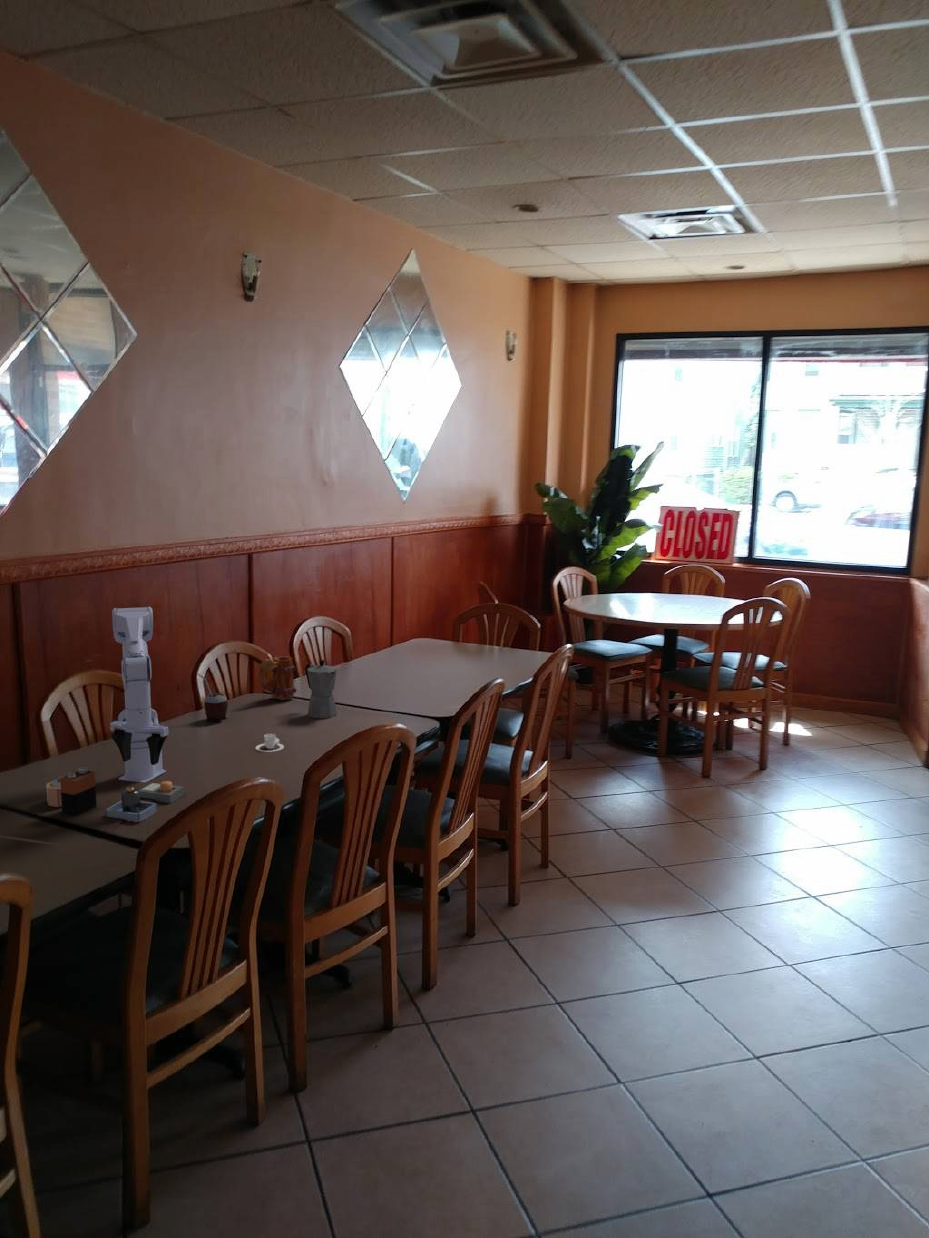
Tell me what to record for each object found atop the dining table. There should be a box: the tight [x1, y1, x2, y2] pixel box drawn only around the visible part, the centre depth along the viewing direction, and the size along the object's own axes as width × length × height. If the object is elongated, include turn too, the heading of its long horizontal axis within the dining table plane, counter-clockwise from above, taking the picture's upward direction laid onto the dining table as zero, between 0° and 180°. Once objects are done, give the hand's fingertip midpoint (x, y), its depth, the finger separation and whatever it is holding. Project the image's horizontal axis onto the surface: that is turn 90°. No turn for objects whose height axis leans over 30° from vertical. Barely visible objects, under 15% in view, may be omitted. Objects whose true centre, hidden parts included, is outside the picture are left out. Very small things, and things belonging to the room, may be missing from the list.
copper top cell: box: [120, 786, 141, 813], centre depth 217 cm, size 4×4×6 cm
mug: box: [258, 655, 297, 701], centre depth 314 cm, size 15×8×15 cm, turn 144°
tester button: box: [159, 780, 173, 793], centre depth 228 cm, size 3×3×3 cm
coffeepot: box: [304, 659, 338, 719], centre depth 299 cm, size 15×9×18 cm, turn 44°
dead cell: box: [52, 775, 65, 788], centre depth 223 cm, size 4×4×6 cm
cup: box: [46, 780, 62, 808], centre depth 223 cm, size 6×6×5 cm
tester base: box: [139, 782, 185, 804], centre depth 229 cm, size 9×6×2 cm, turn 75°
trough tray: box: [104, 799, 159, 823], centre depth 217 cm, size 7×9×2 cm
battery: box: [60, 766, 98, 817], centre depth 218 cm, size 4×7×10 cm, turn 156°
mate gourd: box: [196, 672, 229, 724], centre depth 291 cm, size 8×8×15 cm
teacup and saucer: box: [255, 733, 285, 753], centre depth 267 cm, size 9×8×4 cm
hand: (140, 762), depth 224 cm, fingers open, 7 cm apart
